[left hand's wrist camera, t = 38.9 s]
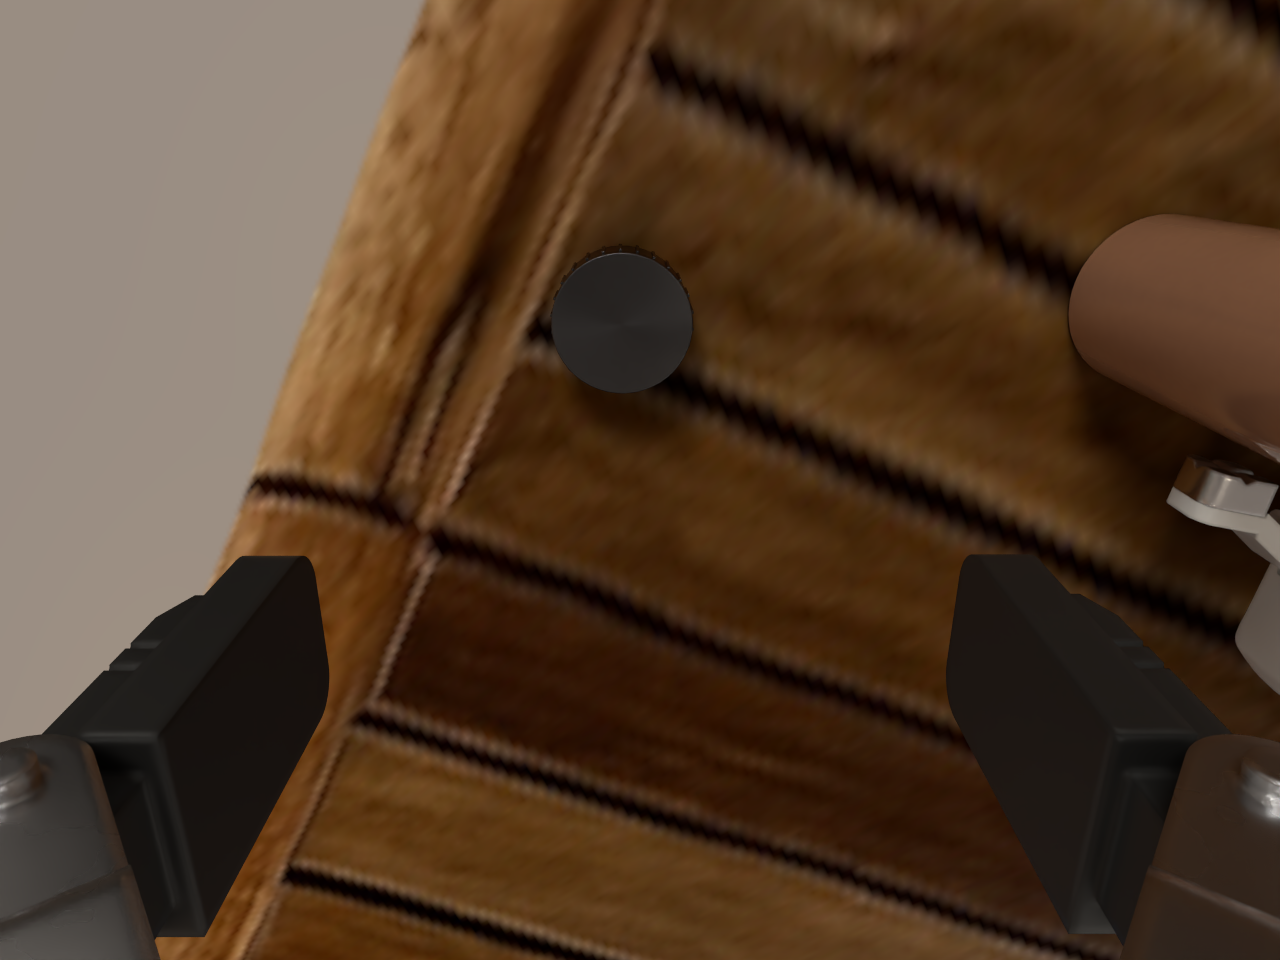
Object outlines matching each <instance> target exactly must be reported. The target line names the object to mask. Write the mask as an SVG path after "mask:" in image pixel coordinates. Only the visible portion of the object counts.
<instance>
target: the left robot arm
mask: <svg viewBox="0 0 1280 960" xmlns="http://www.w3.org/2000/svg"><path fill="white" fill-rule="evenodd" d="M946 684H947V693H948V699H949V704H950V707H951V710H952V713H953V716H954V718H955V720H956V722H957V724H958V725H959V727H960V729H961V731H962V733H963V735H964V737H965V739H966V741H967V742H968V744H969V746H970V748H971V750H972V752H973V754H974V756H975V758H976V760H977V761H978V763H979V765H980V767H981V769H982V771H983V773H984V775H985V777H986V778H987V780H988V782H989V784H990V786H991V788H992V790H993V792H994V794H995V796H996V797H997V799H998V801H999V803H1000V805H1001V807H1002V809H1003V811H1004V813H1005V814H1006V816H1007V818H1008V820H1009V822H1010V824H1011V826H1012V828H1013V830H1014V831H1015V833H1016V835H1017V837H1018V839H1019V841H1020V843H1021V845H1022V847H1023V849H1024V850H1025V852H1026V854H1027V856H1028V858H1029V860H1030V862H1031V864H1032V866H1033V867H1034V869H1035V871H1036V873H1037V875H1038V877H1039V879H1040V881H1041V883H1042V885H1043V886H1044V888H1045V890H1046V892H1047V894H1048V896H1049V898H1050V900H1051V902H1052V903H1053V905H1054V907H1055V909H1056V911H1057V913H1058V915H1059V917H1060V919H1061V920H1062V922H1063V924H1064V926H1065V928H1066V930H1067V932H1068V934H1116V935H1117V936H1118V938H1119V940H1120V941H1121V943H1122V945H1123V950H1122V953H1121V957H1120V960H1280V743H1279V742H1276V741H1272V740H1269V739H1264V738H1259V737H1254V736H1247V735H1237V734H1232V733H1231V732H1230V731H1229V730H1228V729H1227V728H1226V727H1225V726H1224V725H1223V724H1222V723H1221V722H1220V721H1219V719H1218V718H1217V717H1216V716H1215V715H1214V714H1213V713H1212V712H1211V711H1210V710H1209V709H1208V708H1207V707H1206V706H1205V705H1204V704H1203V703H1202V702H1201V701H1200V700H1199V699H1198V698H1197V697H1196V696H1195V695H1194V694H1193V693H1192V692H1191V691H1190V690H1189V689H1188V687H1187V686H1186V685H1185V684H1184V683H1183V682H1182V681H1181V680H1180V679H1179V678H1178V677H1177V676H1176V675H1175V674H1174V673H1173V672H1172V671H1171V670H1170V669H1164V663H1163V662H1162V661H1161V660H1160V659H1159V658H1158V657H1157V655H1156V654H1155V653H1154V652H1153V651H1152V650H1151V649H1150V648H1149V647H1143V641H1142V640H1141V639H1140V638H1139V637H1138V636H1137V635H1136V634H1135V633H1134V632H1133V631H1132V630H1131V629H1130V628H1129V627H1128V626H1127V625H1126V623H1125V622H1124V621H1123V620H1122V619H1121V618H1120V617H1119V616H1117V615H1116V614H1114V613H1112V612H1110V611H1109V610H1107V609H1105V608H1103V607H1102V606H1100V605H1098V604H1096V603H1095V602H1093V601H1091V600H1089V599H1088V598H1086V597H1084V596H1082V595H1081V594H1070V593H1069V592H1068V591H1067V590H1066V589H1065V588H1064V587H1063V585H1062V584H1061V583H1060V582H1059V581H1058V580H1057V579H1056V578H1055V577H1054V576H1053V574H1052V573H1051V572H1050V571H1049V570H1048V569H1047V568H1046V567H1045V566H1044V565H1043V563H1042V562H1041V561H1040V560H1039V559H1038V558H1037V557H1036V556H1034V555H969V556H968V557H967V558H966V559H965V560H964V562H963V565H962V568H961V571H960V576H959V583H958V590H957V597H956V604H955V610H954V617H953V624H952V631H951V638H950V645H949V652H948V659H947V667H946ZM328 690H329V665H328V658H327V651H326V644H325V638H324V631H323V624H322V617H321V611H320V604H319V597H318V590H317V584H316V577H315V572H314V569H313V566H312V564H311V562H310V560H309V559H308V558H307V557H305V556H242V557H240V558H238V559H237V560H236V561H235V562H234V563H233V564H232V565H231V567H230V568H229V569H228V570H227V571H226V572H225V573H224V574H223V575H222V576H221V577H220V578H219V580H218V581H217V582H216V583H215V584H214V585H213V586H212V587H211V588H210V589H209V590H208V591H207V593H206V594H205V595H195V596H193V597H191V598H189V599H188V600H186V601H184V602H182V603H181V604H179V605H177V606H175V607H174V608H172V609H170V610H168V611H167V612H165V613H163V614H161V615H160V616H158V617H156V618H155V619H154V620H153V621H152V622H151V623H150V624H149V625H148V626H147V627H146V628H145V629H144V630H143V631H142V632H141V633H140V634H139V635H138V636H137V637H136V638H135V639H134V640H133V642H131V647H130V649H125V650H124V651H123V652H122V653H121V654H120V655H119V656H118V657H117V658H116V659H115V660H114V661H113V662H112V663H111V664H110V668H109V671H103V672H102V673H101V674H100V675H99V676H98V677H97V678H96V679H95V680H94V681H93V682H92V683H91V684H90V686H89V687H88V688H87V689H86V690H85V691H84V692H83V693H82V694H81V695H80V696H79V697H78V698H77V699H76V700H75V701H74V702H73V703H72V704H71V705H70V706H69V707H68V708H67V709H66V710H65V711H64V712H63V713H62V714H61V715H60V716H59V717H58V718H57V719H56V720H55V721H54V722H53V723H52V724H51V725H50V726H49V727H48V728H47V729H46V730H45V732H44V733H43V734H42V735H34V736H26V737H21V738H16V739H11V740H8V741H4V742H1V743H0V960H160V957H159V953H158V950H157V947H156V944H155V941H154V940H155V939H156V937H205V935H206V933H207V931H208V930H209V928H210V926H211V924H212V922H213V920H214V918H215V916H216V915H217V913H218V911H219V909H220V907H221V905H222V903H223V901H224V900H225V898H226V896H227V894H228V892H229V890H230V888H231V886H232V885H233V883H234V881H235V879H236V877H237V875H238V873H239V872H240V870H241V868H242V866H243V864H244V862H245V860H246V858H247V857H248V855H249V853H250V851H251V849H252V847H253V845H254V843H255V842H256V840H257V838H258V836H259V834H260V832H261V830H262V828H263V827H264V825H265V823H266V821H267V819H268V817H269V815H270V814H271V812H272V810H273V808H274V806H275V804H276V802H277V800H278V799H279V797H280V795H281V793H282V791H283V789H284V787H285V785H286V784H287V782H288V780H289V778H290V776H291V774H292V772H293V771H294V769H295V767H296V765H297V763H298V761H299V759H300V757H301V756H302V754H303V752H304V750H305V748H306V746H307V744H308V742H309V741H310V739H311V737H312V735H313V733H314V731H315V729H316V727H317V726H318V724H319V722H320V720H321V718H322V716H323V713H324V710H325V706H326V702H327V697H328Z"/></svg>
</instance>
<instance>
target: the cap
mask: <svg viewBox="0 0 1280 960" xmlns="http://www.w3.org/2000/svg"><path fill="white" fill-rule="evenodd" d="M681 281H682V280H681V278H680V275H679V273H677V274H676V273H675V271H674V270H673V269H672V268H671V267H670V266H669V263H668V261H667V260H666V261H664V260H663V259H661V258H660V257H658V256H657V255H655V252H653V251H652V252H649V251H647V250H644V249H641V248H639V246H637V245H636V247H631V246H622V244H619V246H612V247H607V248H605V246H603V247H602V249H600V250H597V251H595V252H593V253H591V254H590V253H587V255H586V257H584V258H583V259H582V260H580V261H579V262H578V263H576V262H575V263H574V264H573V267H572V269H571V270H570V271H569V273H568V274H567V275H566V276H565V275H564V277H563V279H562V281H561V284H562V285H561V287H560V289H559V290H557V292H556V294H555V296H554V299H553V300H555V302H554V306H553V309H552V312H551V315H550V317H552V318H551V328H552V331H551V333H552V335H553V340H554V343H555V346H556V349H557V351H558V354H559V355H560V357H561V359H562V361H563V362H564V364H565V365H566V366H567V367H568V369H569V370H570V371H571V372H572V373H573V374H574V375H575V376H576V377H578V378H579V379H580V380H582V381H583V382H585V383H586V384H588V385H590V386H592V387H594V388H597V389H599V390H603V391H606V392H612V393H633V392H638V391H642V390H645V389H648V388H650V387H653V386H654V385H656V384H658V383H660V382H661V381H663V380H664V379H666V378H667V377H668V376H669V375H670V374H671V373H672V372H673V371H674V370H675V369H676V368H677V367H678V366H679V364H680V363H681V361H682V360H683V358H684V356H685V354H686V352H687V350H688V347H689V344H690V341H691V336H692V331H693V319H692V314H693V309H692V307H691V304H690V302H689V299H688V297H690V296H689V294H688V291H687V288H686V287H685V288H684V286H683V284H682V282H681Z"/></svg>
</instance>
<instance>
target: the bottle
mask: <svg viewBox="0 0 1280 960" xmlns="http://www.w3.org/2000/svg"><path fill="white" fill-rule="evenodd" d="M1069 327H1070V333H1071V336H1072V339H1073V342H1074V345H1075V347H1076V349H1077V351H1078V352H1079V354H1080V355H1081V357H1082V358H1083V359H1084V361H1085V362H1086V363H1087V364H1088V365H1089V366H1090V367H1092V368H1093V369H1094V370H1096V371H1097V372H1098V373H1100V374H1102V375H1104V376H1106V377H1108V378H1110V379H1112V380H1114V381H1116V382H1118V383H1120V384H1121V385H1123V386H1125V387H1127V388H1129V389H1131V390H1133V391H1135V392H1137V393H1139V394H1141V395H1143V396H1145V397H1147V398H1149V399H1151V400H1153V401H1155V402H1157V403H1159V404H1161V405H1163V406H1165V407H1167V408H1169V409H1171V410H1173V411H1175V412H1177V413H1179V414H1181V415H1183V416H1184V417H1186V418H1188V419H1190V420H1192V421H1194V422H1196V423H1198V424H1200V425H1202V426H1204V427H1206V428H1208V429H1210V430H1212V431H1214V432H1216V433H1218V434H1220V435H1222V436H1224V437H1226V438H1228V439H1230V440H1232V441H1234V442H1236V443H1238V444H1240V445H1242V446H1244V447H1246V448H1248V449H1249V450H1251V451H1253V452H1255V453H1257V454H1259V455H1261V456H1263V457H1265V458H1267V459H1269V460H1271V461H1273V462H1275V463H1277V464H1279V465H1280V229H1277V228H1270V227H1264V226H1257V225H1250V224H1243V223H1237V222H1230V221H1223V220H1216V219H1209V218H1203V217H1196V216H1189V215H1182V214H1160V215H1155V216H1150V217H1146V218H1143V219H1140V220H1137V221H1135V222H1133V223H1131V224H1128V225H1126V226H1125V227H1123V228H1121V229H1120V230H1118V231H1116V232H1115V233H1114V234H1112V235H1111V236H1110V237H1108V238H1107V239H1106V240H1105V241H1104V242H1103V243H1102V244H1101V245H1100V246H1099V247H1097V248H1096V250H1095V251H1094V252H1093V253H1092V254H1091V256H1090V257H1089V258H1088V260H1087V261H1086V263H1085V264H1084V266H1083V267H1082V269H1081V271H1080V273H1079V275H1078V277H1077V279H1076V281H1075V284H1074V287H1073V289H1072V293H1071V297H1070V303H1069Z"/></svg>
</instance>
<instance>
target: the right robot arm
mask: <svg viewBox="0 0 1280 960" xmlns="http://www.w3.org/2000/svg"><path fill="white" fill-rule="evenodd" d="M1278 487H1279V485H1277V484H1275V483H1273V482H1271V481H1270V480H1268V479H1266V478H1264V477H1261V476H1256V475H1254V474H1253V472H1252V471H1251V470H1249V469H1247V468H1246V467H1244V466H1242V465H1240V464H1238V463H1234V462H1229V461H1224V460H1219V459H1215V460H1213V461H1210V460H1208V459H1206V458H1204V457H1202V456H1198V455H1192V454H1191V455H1187V456H1186V458H1185V460H1184V462H1183V465H1182V467H1181V469H1180V471H1179V473H1178V475H1177V478H1176V480H1175V482H1174V484H1173V488H1172V490H1171V492H1170V494H1169V497H1168V499H1167V501H1166V502H1167V503H1168V504H1169V505H1171V506H1172V507H1174V508H1175V509H1177V510H1178V511H1180V512H1181V513H1183V514H1184V515H1186V516H1187V517H1189V518H1191V519H1193V520H1196V521H1198V522H1201V523H1204V524H1207V525H1210V526H1216V527H1221V528H1226V529H1232V531H1233V532H1234V533H1235V534H1236V535H1237V536H1238V537H1239V538H1240V539H1241V540H1242V541H1243V542H1244V543H1245V544H1246V545H1247V546H1248V547H1249V548H1250V549H1251V550H1252V551H1254V552H1255V553H1257V554H1258V555H1260V556H1261V557H1263V558H1264V559H1266V560H1267V561H1269V562H1270V565H1269V567H1268V569H1267V571H1266V573H1265V575H1264V577H1263V579H1262V581H1261V583H1260V585H1259V587H1258V589H1257V591H1256V593H1255V595H1254V597H1253V599H1252V601H1251V603H1250V605H1249V607H1248V609H1247V611H1246V613H1245V615H1244V617H1243V619H1242V621H1241V622H1240V624H1239V626H1238V629H1237V631H1236V635H1235V642H1236V645H1237V647H1238V649H1239V650H1240V652H1241V653H1242V655H1243V657H1244V658H1245V659H1246V661H1247V662H1248V664H1249V665H1250V666H1251V668H1252V669H1253V670H1254V671H1255V672H1256V674H1257V675H1258V676H1259V677H1260V678H1261V679H1262V680H1263V681H1264V682H1265V683H1266V684H1268V685H1269V686H1270V687H1271V688H1272V689H1273V690H1274V691H1275V692H1277V693H1278V694H1279V695H1280V510H1278V509H1275V510H1273V511H1271V512H1270V514H1268V513H1267V511H1268V509H1269V507H1270V505H1271V502H1272V500H1273V498H1274V496H1275V493H1276V491H1277V489H1278Z"/></svg>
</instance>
